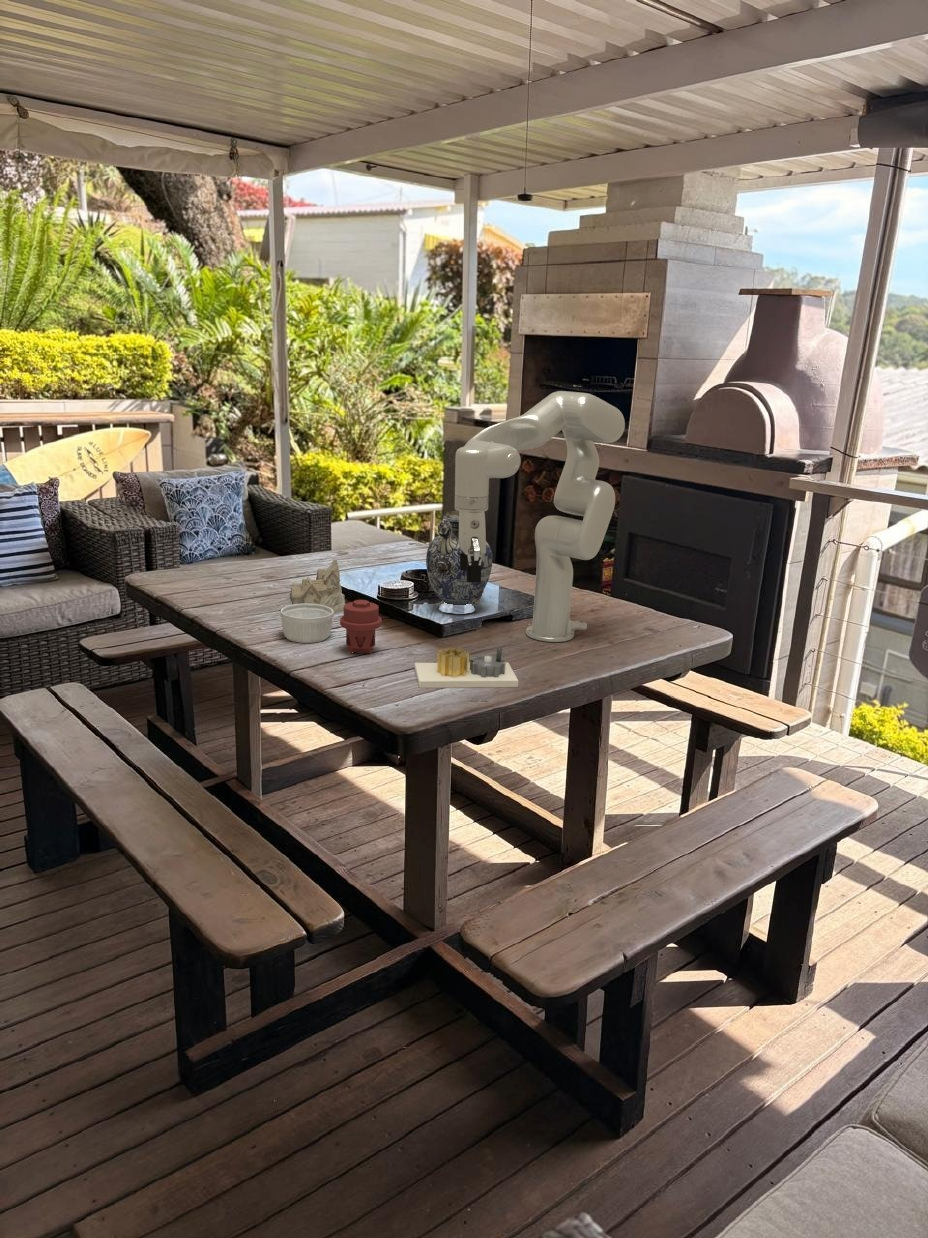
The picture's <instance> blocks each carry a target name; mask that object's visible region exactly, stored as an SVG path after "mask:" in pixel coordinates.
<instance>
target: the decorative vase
mask: <svg viewBox="0 0 928 1238" xmlns="http://www.w3.org/2000/svg"><path fill="white" fill-rule="evenodd" d="M437 533H438V536H435V537H434V538H433V539H432V540H431V541H430V543H429V545H428V547H427V551H426V555H425V558H426V559H425V561H426V562H425V564H426V566H425V567H426V572H427V577H428V580H429V583H430V586H431V588H432V590H433V592H434V593H435V595H436V596H437V597H438V598H439V600H441V601H442V603H444V602H445V603H447V604H453V605H466V604H472V605H475V604H476V603H479V602H480V601H481V599H482V596H483V594H484V590H485V588H486V586H487V584H488V583H489V579H490V577H491V573H492V569H493V568H492V567H493V553H492V549H491V545H489V542H487V541H486V553H485V554H484V555H483V554H482V553H481V552H480V557H481V581H480V582H467V570H465V571H461V570H460V554H463V553H461V551H460V549H461V547H460V545H459V511H458V510H455V509H454V510H449V511H446V514H445V515H443V517H442V520H440V521H439V522H438V526H437Z"/></svg>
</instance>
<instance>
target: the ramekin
mask: <svg viewBox="0 0 928 1238" xmlns="http://www.w3.org/2000/svg"><path fill="white" fill-rule="evenodd" d="M280 609H281V610H280V613H279V614H280V618H281V626H282V631H283V632H282V633H283V635H284V637H285V638H286V639H287V640H289V641H291V642H295V643H301V644H312V643H313V644H314V643H320V642H324V641H326V640H327V639H328V638H329V636H330V635H331V633H332V628H333V627H332V626H333V619H334V616H335V613H334V611H333V609H332V608H330V607H328V606H324V605H320V604H308V603H306V604H293V605H291V604H289V605H287V606H284V607H282V608H280Z"/></svg>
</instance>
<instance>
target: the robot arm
mask: <svg viewBox="0 0 928 1238" xmlns="http://www.w3.org/2000/svg"><path fill="white" fill-rule="evenodd" d="M625 424H626V422H625V418H624V415H623V413H622V411H620V409H618V408H617V407H616V406H614V405H612V404H610V403H609V402H607V401H605V400H603V399H601V398H600V397H597V396H596V395H593V394H592V393H587V392H579V391H578V392H577V391H565V390H557V391H554V392H551V393H550V394H548V395H547V396H546V397H545V398H543V399H542V400H540V401H539V402H538V403H536V404H535V405H534V406H532V407H531V408H530V409H528V411H526V412H525V413H524V414H522V415H519V416H517V417H516V416H515V417H513V418H510V419H507V420H505V421H501V422H499V423H495V424H492V425H490V426H488V427H486V428H484V429H482V430H480V431H479V432H478V433H476V435H474V436H472V437H471V438H470V439H469V440H468V441H467V442H466V443H465V445H464V446H462V447H459V448H458V449H456V452H455V460H454V461H455V473H454V475H455V477H454V482H455V483H454V511H455V510H458V511H459V545H460V547H461V549H460V551H461V553H463V554H460V570H461V571H465V570H467V582H480V581H481V557H480V552H481V553H482V554H483V555H484V554H485V553H486V542H487V540H486V539H487V537H486V535H487V534H486V514H485V512H487V511H488V510H489V490H490V489H489V487H490V482H489V481H490V479H505V478H506V479H507V478H510V477H512V476H513V475H515V474H516V473H517V472H518V470H519V468H520V466H521V464H522V463H521V462H522V461H521V459H522V458H521V455H520V452H519V451H526V450H531V449H536V448H540V447H542V446H543V445H545V444H546V443H547V442H549V441H550V440H551V439H552V438H553V437H554V436H556V435H557V434H558V433H560V432H561V431H562V434H563V437H564V440H565V443H566V448H567V449H566V451H567V454H566V459H565V463H564V465H563V469H562V471H561V475H560V477H559V480H558V483H557V486H556V489H555V492H554V496H553V505H554V506H555V508H556V509H557V510H558V511H560V512H562V513H566V514H569V515H574V516H579V517H580V516H581V517H583V518H582V520H581V519H576V518H575V519H574V518H571V517H566V516H561V515H547V516H545V517H543V518H541V519H540V520H539V521H538V523H537V524H536V526H535V530H534V542H535V550H536V552H535V553H536V571H535V573H536V574H535V583H534V585H535V586H534V599H533V610H532V611H533V614H532V625H529V626H527V627H526V630H525V634H526V635H527V637H529V638H531V639H534V640H537V641H541V642H547V643H548V642H549V643H562V642H563V643H564V642H567V641H571V640H572V639H574V638H575V637H574V636H575V631H576V630H579V631H586V630H587V629H588V624H587V622H580V621H581V620H572V619H571V618H570V614H571V605H572V602H571V601H572V593H573V591H572V590H573V581H574V568H573V564H572V560H571V558H573V559H578V560H581V561H582V560H584V561H589V560H591V559H593V558H595V557H596V556H597V554H598V552H600V549H601V547H602V544H603V541H604V538H605V537H606V533H607V530H608V528H609V524H610V521H611V519H612V515H613V512H614V509H615V505H616V493H615V490H614V488H613V486H612V485H611V484H610V483H608V482H606V481H604V480H598V479H596V477H597V474H598V471H599V466H600V457H599V453H598V450H597V448H596V446H595V443H594V442H599V443H606V444H609V443H610V444H612V443H614V442H617V441H618V440H619V439H620V438H621V437H622V436H623V434H624V431H625V428H626V425H625Z"/></svg>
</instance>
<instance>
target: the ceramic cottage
mask: <svg viewBox="0 0 928 1238" xmlns="http://www.w3.org/2000/svg"><path fill="white" fill-rule="evenodd" d="M342 589H343V588H342V586H341V579H340V568H339V563H338V559H337V558H333V559H332V561H331V564H330V565H329V566H328V567H327V568H317V570H316V579H313V580H312V579H311V577H309V576H307V578H302V580H301V584H295V583H294V584H293V583H292V584H291V586H290V593H289V599H290V600H289V601H290V602H291V604H290V605H293V604H306V603H308V604H320V605H324V606H328V607H330V608H332V609H333V611H334V614H339V613H341V612H342V613H343V612H344V605H345V604H346V600H345V597H346V596H345V594H344V593H342V592H343V591H342Z"/></svg>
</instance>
